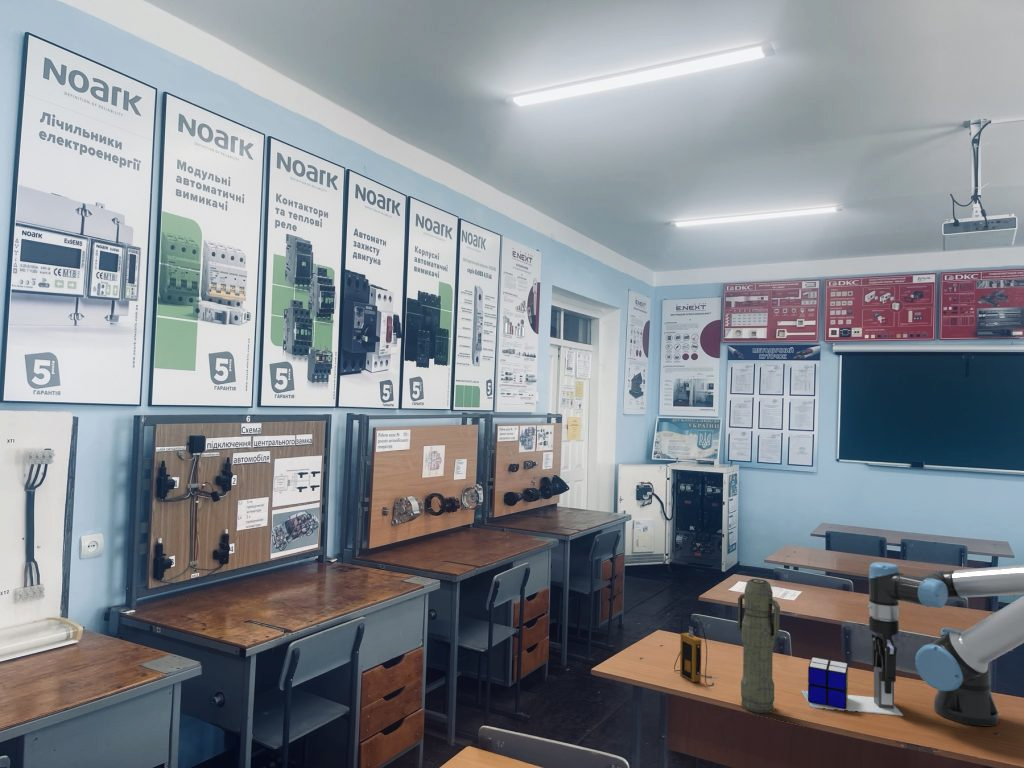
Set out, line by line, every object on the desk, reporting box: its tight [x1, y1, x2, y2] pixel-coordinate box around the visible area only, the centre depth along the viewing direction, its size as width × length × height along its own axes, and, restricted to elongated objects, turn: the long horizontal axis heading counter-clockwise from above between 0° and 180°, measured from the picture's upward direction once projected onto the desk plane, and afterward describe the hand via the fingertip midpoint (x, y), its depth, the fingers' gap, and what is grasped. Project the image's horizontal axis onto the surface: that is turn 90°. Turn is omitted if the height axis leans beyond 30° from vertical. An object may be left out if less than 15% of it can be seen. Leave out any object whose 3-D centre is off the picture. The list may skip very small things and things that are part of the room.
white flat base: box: [801, 667, 904, 717], centre depth 203 cm, size 24×12×10 cm, turn 80°
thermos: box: [737, 578, 781, 714], centre depth 200 cm, size 9×12×35 cm
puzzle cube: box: [807, 657, 849, 709], centre depth 204 cm, size 10×10×10 cm
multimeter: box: [673, 611, 719, 687], centre depth 221 cm, size 15×10×20 cm
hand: (883, 700), depth 202 cm, fingers closed on white flat base, 4 cm apart
